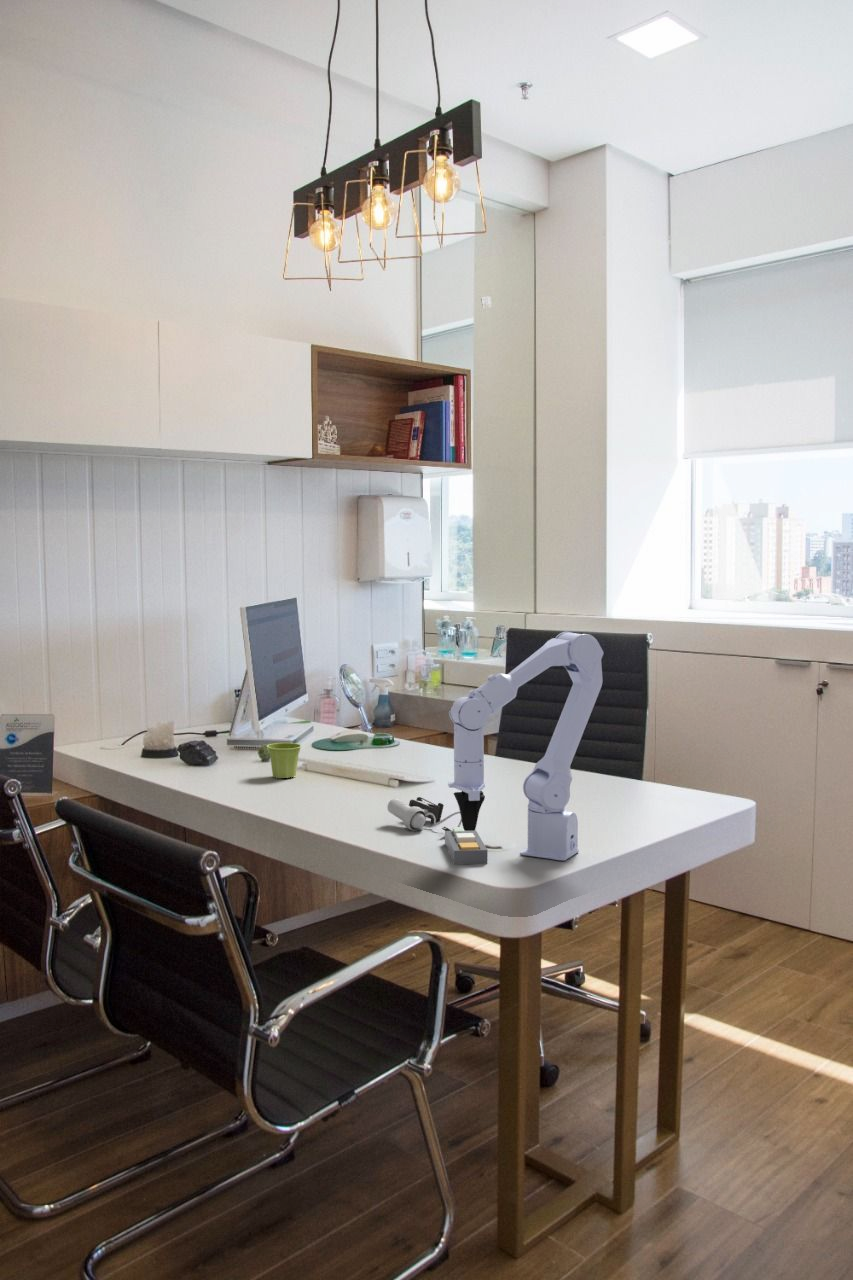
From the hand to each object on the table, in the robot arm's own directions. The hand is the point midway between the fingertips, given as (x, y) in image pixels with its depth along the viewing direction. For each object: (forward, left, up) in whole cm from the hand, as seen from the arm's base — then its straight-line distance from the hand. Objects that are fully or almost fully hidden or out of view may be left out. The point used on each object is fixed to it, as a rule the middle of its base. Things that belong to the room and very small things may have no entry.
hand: (469, 829), depth 203 cm
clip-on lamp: (+20, -19, -6) cm, 28 cm away
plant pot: (+81, -48, -6) cm, 95 cm away
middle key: (+3, -4, -4) cm, 6 cm away
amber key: (0, 0, -5) cm, 5 cm away
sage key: (+6, -8, -4) cm, 11 cm away
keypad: (+3, -4, -6) cm, 8 cm away
